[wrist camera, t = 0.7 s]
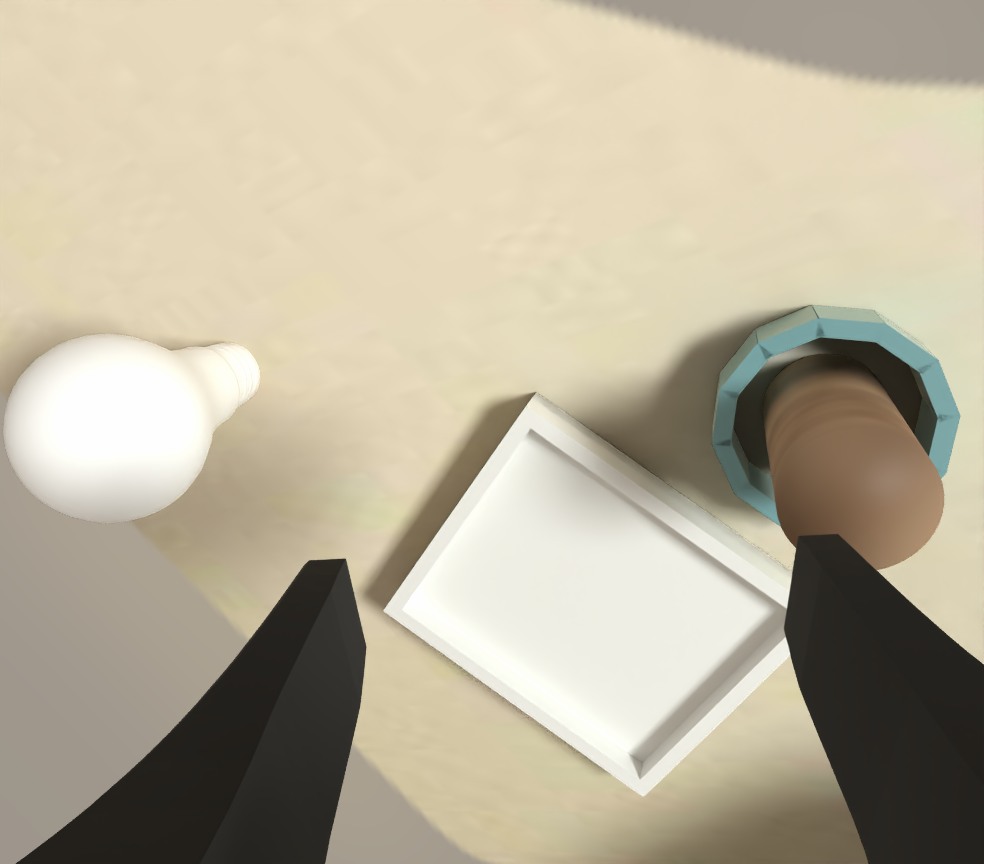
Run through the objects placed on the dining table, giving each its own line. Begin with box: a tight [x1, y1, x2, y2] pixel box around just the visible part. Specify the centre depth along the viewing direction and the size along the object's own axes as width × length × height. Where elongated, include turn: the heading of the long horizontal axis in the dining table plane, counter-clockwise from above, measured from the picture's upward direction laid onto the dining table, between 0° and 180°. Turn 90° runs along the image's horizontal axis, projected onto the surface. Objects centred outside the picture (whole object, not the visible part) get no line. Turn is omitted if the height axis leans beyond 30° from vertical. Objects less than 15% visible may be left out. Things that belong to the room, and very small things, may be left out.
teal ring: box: [712, 305, 960, 526], centre depth 27 cm, size 7×7×2 cm
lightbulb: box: [3, 334, 260, 523], centre depth 29 cm, size 6×6×11 cm
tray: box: [383, 392, 792, 797], centre depth 32 cm, size 13×11×2 cm
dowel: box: [762, 354, 944, 570], centre depth 25 cm, size 4×4×8 cm
